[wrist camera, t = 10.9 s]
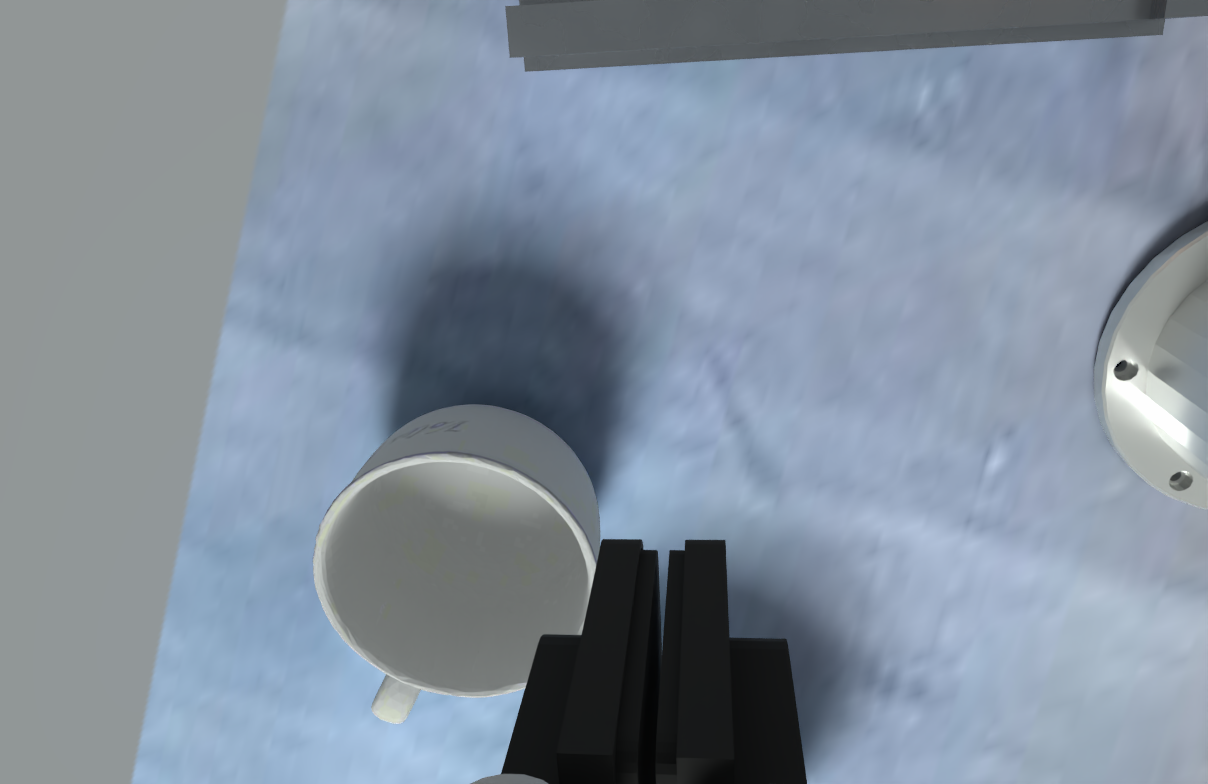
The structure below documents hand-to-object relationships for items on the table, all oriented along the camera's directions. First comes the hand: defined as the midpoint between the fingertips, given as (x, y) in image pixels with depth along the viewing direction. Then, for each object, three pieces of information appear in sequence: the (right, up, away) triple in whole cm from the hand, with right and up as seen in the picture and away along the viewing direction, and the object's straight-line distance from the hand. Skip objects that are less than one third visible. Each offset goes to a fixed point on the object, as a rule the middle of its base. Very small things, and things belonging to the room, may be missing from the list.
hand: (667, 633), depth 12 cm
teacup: (-7, -2, +29) cm, 30 cm away
